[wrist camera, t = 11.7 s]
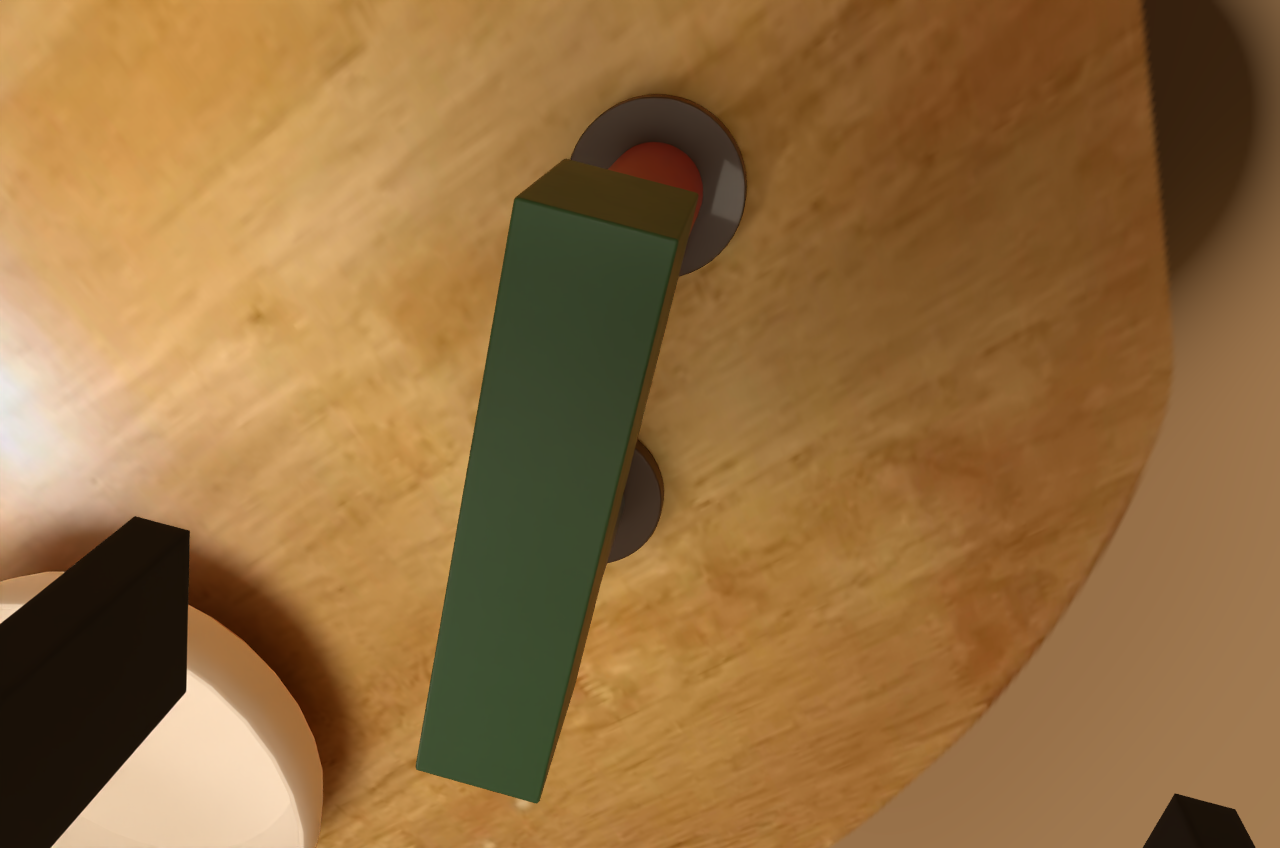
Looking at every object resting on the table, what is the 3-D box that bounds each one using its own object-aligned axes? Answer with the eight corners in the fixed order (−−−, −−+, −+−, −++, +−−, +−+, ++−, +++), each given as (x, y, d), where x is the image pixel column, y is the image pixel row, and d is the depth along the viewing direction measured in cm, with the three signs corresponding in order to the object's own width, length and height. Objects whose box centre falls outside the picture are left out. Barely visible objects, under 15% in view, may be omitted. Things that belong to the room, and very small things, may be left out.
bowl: (159, 904, 53) (84, 1013, 47) (-115, 626, 47) (-236, 712, 42) (447, 783, 46) (400, 893, 41) (170, 447, 41) (72, 520, 35)
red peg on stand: (768, 119, 33) (760, 165, 24) (721, 292, 35) (700, 386, 27) (590, 74, 33) (523, 104, 25) (556, 248, 35) (485, 329, 27)
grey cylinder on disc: (680, 441, 38) (649, 568, 29) (644, 571, 40) (607, 722, 32) (526, 400, 38) (454, 515, 30) (501, 532, 40) (427, 672, 32)
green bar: (699, 192, 25) (679, 239, 20) (574, 687, 32) (538, 805, 27) (564, 157, 25) (513, 196, 20) (468, 657, 32) (414, 770, 27)
